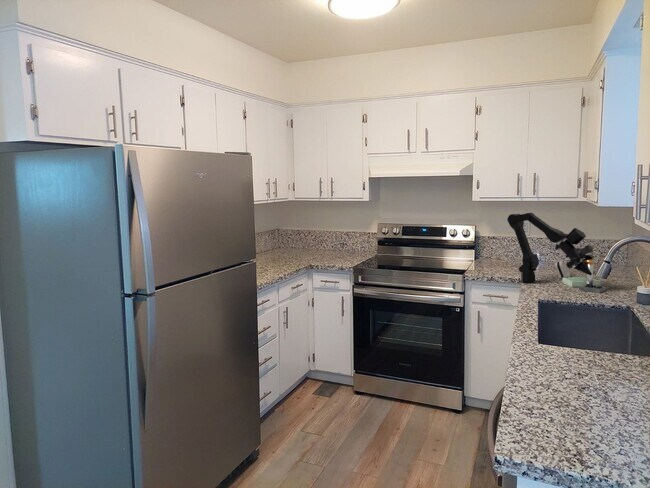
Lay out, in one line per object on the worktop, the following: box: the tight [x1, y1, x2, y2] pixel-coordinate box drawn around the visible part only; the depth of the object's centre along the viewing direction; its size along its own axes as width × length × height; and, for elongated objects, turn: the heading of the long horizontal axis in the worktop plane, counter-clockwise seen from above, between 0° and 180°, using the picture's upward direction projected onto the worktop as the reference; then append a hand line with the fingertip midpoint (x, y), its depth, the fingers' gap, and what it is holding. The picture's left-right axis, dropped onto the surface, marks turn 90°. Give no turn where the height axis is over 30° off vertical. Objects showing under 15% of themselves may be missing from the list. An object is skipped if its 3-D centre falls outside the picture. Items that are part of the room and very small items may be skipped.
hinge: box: [554, 260, 572, 279], centre depth 270 cm, size 17×5×10 cm, turn 149°
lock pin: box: [585, 259, 596, 287], centre depth 229 cm, size 4×4×15 cm
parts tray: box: [561, 276, 602, 288], centre depth 243 cm, size 14×12×3 cm
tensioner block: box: [578, 284, 607, 294], centre depth 228 cm, size 9×7×3 cm
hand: (592, 274), depth 227 cm, fingers closed on lock pin, 3 cm apart
